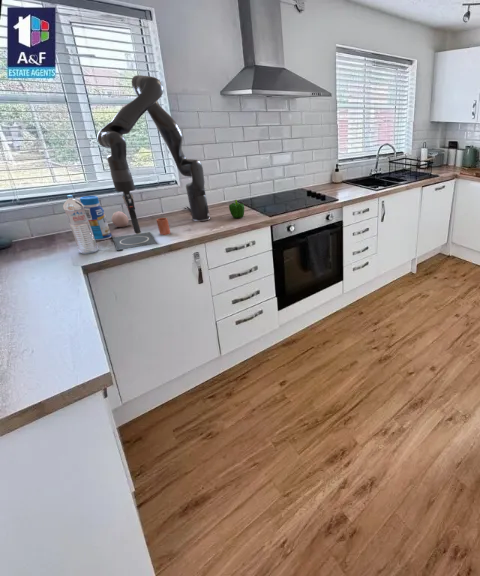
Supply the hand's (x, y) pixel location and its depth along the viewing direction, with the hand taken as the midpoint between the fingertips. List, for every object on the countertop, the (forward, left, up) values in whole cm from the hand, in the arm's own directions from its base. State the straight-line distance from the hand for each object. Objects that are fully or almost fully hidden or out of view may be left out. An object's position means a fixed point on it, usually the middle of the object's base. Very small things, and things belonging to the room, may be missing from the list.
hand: (133, 217), depth 172 cm
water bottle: (+2, -20, -12) cm, 24 cm away
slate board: (-2, -2, -12) cm, 13 cm away
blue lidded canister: (-16, -14, -12) cm, 25 cm away
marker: (0, 0, -8) cm, 8 cm away
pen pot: (-6, +12, -12) cm, 18 cm away
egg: (-31, -4, -12) cm, 34 cm away
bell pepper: (-17, +53, -8) cm, 56 cm away
